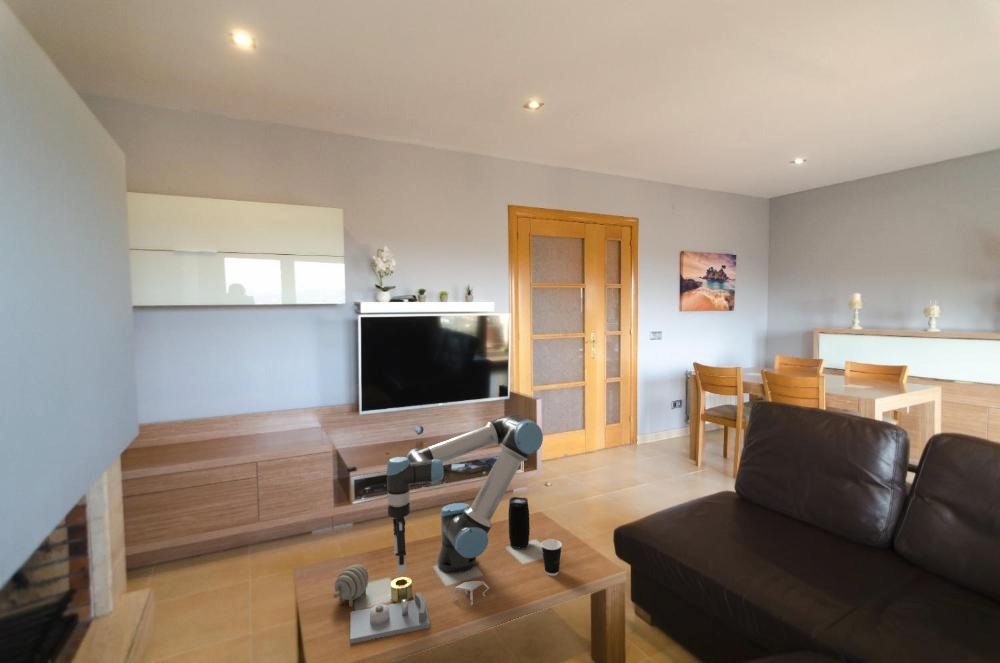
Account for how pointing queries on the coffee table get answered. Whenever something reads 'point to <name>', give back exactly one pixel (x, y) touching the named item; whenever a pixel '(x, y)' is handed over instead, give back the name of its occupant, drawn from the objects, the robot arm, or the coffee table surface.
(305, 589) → the coffee table surface
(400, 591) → the gold octagonal ring
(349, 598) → the toy sheep
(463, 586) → the origami figure
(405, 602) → the pin
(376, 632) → the carrier plate
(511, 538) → the portable speaker
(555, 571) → the dixie cup
